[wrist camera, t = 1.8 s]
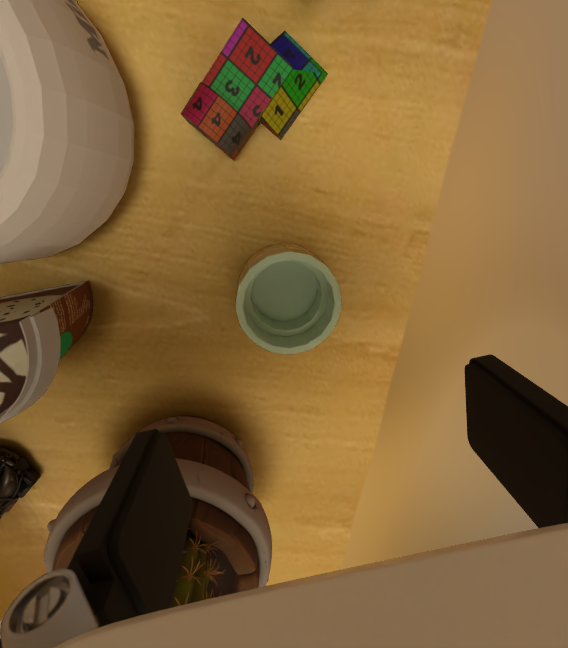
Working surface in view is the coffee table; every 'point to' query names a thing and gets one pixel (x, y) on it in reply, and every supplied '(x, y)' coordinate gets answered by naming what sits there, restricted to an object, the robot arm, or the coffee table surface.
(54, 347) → the food container
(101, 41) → the mug
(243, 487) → the flowerpot
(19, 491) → the toy car
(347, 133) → the coffee table surface
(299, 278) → the bowl
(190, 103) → the multicolored numbered block puzzle
